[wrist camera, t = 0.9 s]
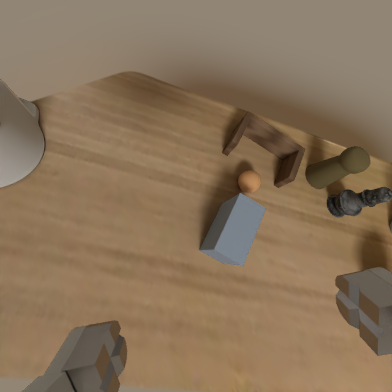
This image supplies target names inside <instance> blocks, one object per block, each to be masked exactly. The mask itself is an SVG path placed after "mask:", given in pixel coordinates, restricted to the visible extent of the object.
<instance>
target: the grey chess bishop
mask: <svg viewBox="0 0 392 392" xmlns="http://www.w3.org/2000/svg"><path fill="white" fill-rule="evenodd" d="M391 199H392V191H391V190H390V189H389V188H386V187H381V188H377V189H374V190H367V189H366V190H364V191H363V192H361V193H357V194H356V193H355V192H354V191H352V190H348V189H347V190H343V191H342V192H341V193H340V194H339V195H331V196H330V197H329V198H328V200H327V207H328V210H329V211H330V213H331V214H332V215H334V216H335V217H342V216H344V215H351V216H357V215H359V214H360V212H361V210H362V207H366V206H369V207H373V206H375V205H376V204H378V203H383V202H388V201H390V200H391Z"/></svg>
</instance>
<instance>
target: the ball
mask: <svg viewBox="0 0 392 392" xmlns="http://www.w3.org/2000/svg"><path fill="white" fill-rule="evenodd" d="M238 184H239V187H240V188H241V189H242V190H243V191H245V192H249V193H251V192H254V191H256V190H257V189H258V188H259V187H260V185H261V178H260V175H259V174H258V173H257V172H255V171H252V170H247V171H245V172H243V173H242V174H241V175H240V176H239V179H238Z"/></svg>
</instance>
